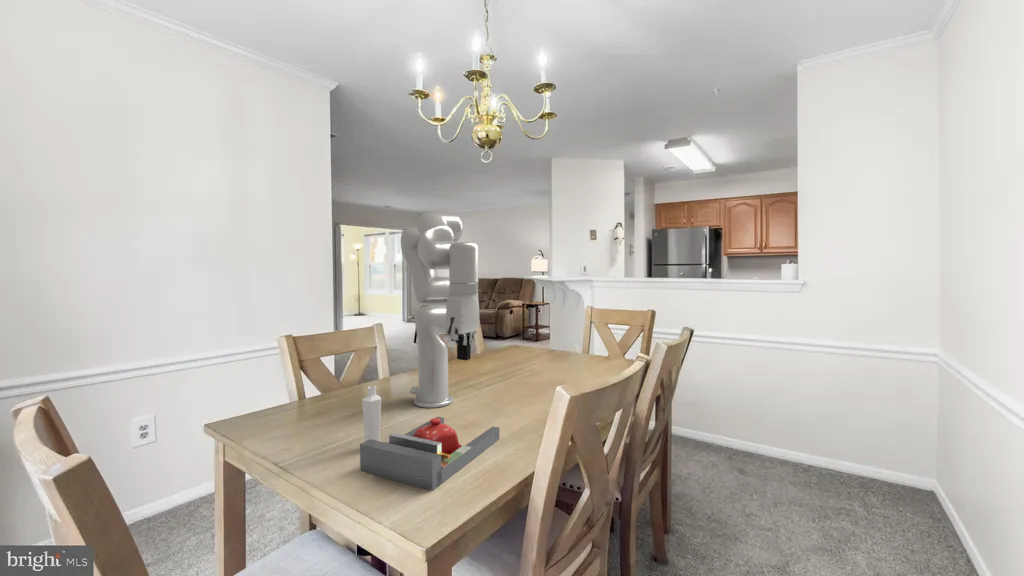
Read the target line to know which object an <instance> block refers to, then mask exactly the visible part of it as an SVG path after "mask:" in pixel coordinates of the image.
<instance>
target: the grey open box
mask: <svg viewBox="0 0 1024 576" xmlns="http://www.w3.org/2000/svg"><path fill="white" fill-rule="evenodd" d="M435 418H439V419H440V420H441V422H440V423H442V424H445V417H441V416H436V417H435ZM430 424H431V423H430V420H429V421H427V422H425V423H424V424H421V425H419V426H417V427H415V428H414V429H412V430H410V431H408V432H406V433H405V434H403V435H407V436H412V437H414V436H415V432H416V431H417V430H418V429H419V428H422V427H424V426H427V425H430ZM499 440H500V427H498V426H491V427H489V428H488V429H487V430H485V431H484V432H482V433H481V434H479V435H478V436H476V437H475V438H474V439H473V440H470V442H468V443H466V444H465V445H462V447H460V448H459V449H457V450H456V451H454V452H453V453H452V454H450V458H449V459H446V458H443V459H442V460H441V455H439V454H434V453H430V452H425V451H421V450H416V449H412V448H408V447H403V446H399V445H394V444H390V443H389V442H385V441H381V440H379V441H376V440H372V439H369V440H367V441H366V440H365V441H363V442H361V443H360V444H359V460H360V461H359V462H360V465H359V469H360V472H362V473H365V474H369V475H372V476H375V477H379V478H384V479H388V480H392V481H395V482H398V483H402V484H406V485H411V486H413V487H418V488H421V489H426V490H428V491H431V492H433V491H434V490H436V489H437V488H439V486H441V485H442V484H444V483H445V482H446V481H448V480H449V479H450V478H451V477H452V476H454V475H455V474H456V473H458V472H459V471H461V469H463V468H465V466H467V465H468V464H469V463H471V462H472V461H473V460H475V459H476V458H477V457H478V456H480V455H481V454H483V453H484V452H485V451H486V450H487V449H489V448H490V447H491V446H493V445H494V444H495V443H496V442H498V441H499Z"/></svg>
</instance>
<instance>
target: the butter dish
mask: <svg viewBox="0 0 1024 576" xmlns="http://www.w3.org/2000/svg"><path fill="white" fill-rule="evenodd" d="M429 421H430V423H431V424H430V425H427V426H424V427H422V428H419V429H418V430H417V431H416V432H415V436H414V437H417V438H422V439H426V440H431V441H436V442H441V443H442V453H445V454H452V453H453V452H454V451H456V450H457V449H459V448H460V447H462V446H463V445H462V444H461V443H460V442H459V439H458V435H457V432H456V430H455V429H454V428H453V427H451V426H450V425H448V424H446V423H444V424H442V423H440V422H441V420H440V419H439V418H436V417H435V418H431V419H430V420H429ZM443 459H444V458H442V460H443Z"/></svg>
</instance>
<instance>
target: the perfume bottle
mask: <svg viewBox="0 0 1024 576" xmlns="http://www.w3.org/2000/svg"><path fill="white" fill-rule="evenodd" d="M366 389H367V395H366V396H365V397H363V398H362V399H361V409H362V417H363V425H364V426H363V427H364V438H365V441H367V440H369V439H372V440H376V441H380V438H381V437H380V433H381V416H382V415H381V414H382V412H381V411H382V397H381V395H378V394H377V386H376V385H370V386H368V387H367V388H366Z"/></svg>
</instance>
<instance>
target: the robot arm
mask: <svg viewBox="0 0 1024 576" xmlns="http://www.w3.org/2000/svg"><path fill="white" fill-rule="evenodd" d="M463 225H464V224H463V222H462V219H461V217H460V216H458V215H457V214H454V213H443V212H427V213H424V214H422V215H420V216H419V217H418V218H417V222H416V227H410V228H407V229H405V230H404V231H402V233H401V236H400V249H401V253H402V256H403V258H404V260H405V263H406V265H407V267H408V269H409V270H410V275H411V280H412V281H411V282H412V288H413V292H414V297H415V300H416V302H417V303H418V304H419V305H422V306H421V307H419V308H417V310H416V311H415V313H414V325H415V330H416V338H417V359H418V360H417V362H418V365H417V366H418V367H417V370H418V372H417V373H418V374H417V375H418V377H417V379H418V386H417V385H416V386H415V385H413V386H411V389H410V390H409V393H410V394H413V395H414V394H415V397H414V398H413V404H414V405H415V406H417V407H420V408H427V409H428V408H430V409H432V408H433V409H434V408H441V407H446V406H448V405H451V404H452V403H453V402H454V397H453V395H452V394H449V349H448V346H447V343H446V342H445V341H444V340H443V338H441V335H445V334H446V335H448V334H450V335H449V336H450V337H449V339H450V340H451V341H452V340H453V341H455V345H456V358H457V360H459V361H460V360H462V361H468V360H470V359H471V353H472V351H471V349H472V348H471V344H472V343H473V342H472V341H473V337H474V336H475V335H476V334H477V331H478V330H479V328H480V302H479V246H478V244H477V243H476V242H472V241H459V240H460V239H461V237H462V234H463V229H464V227H463ZM437 270H448V275H449V276H439V275H438V274H437V273H438V272H437Z"/></svg>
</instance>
